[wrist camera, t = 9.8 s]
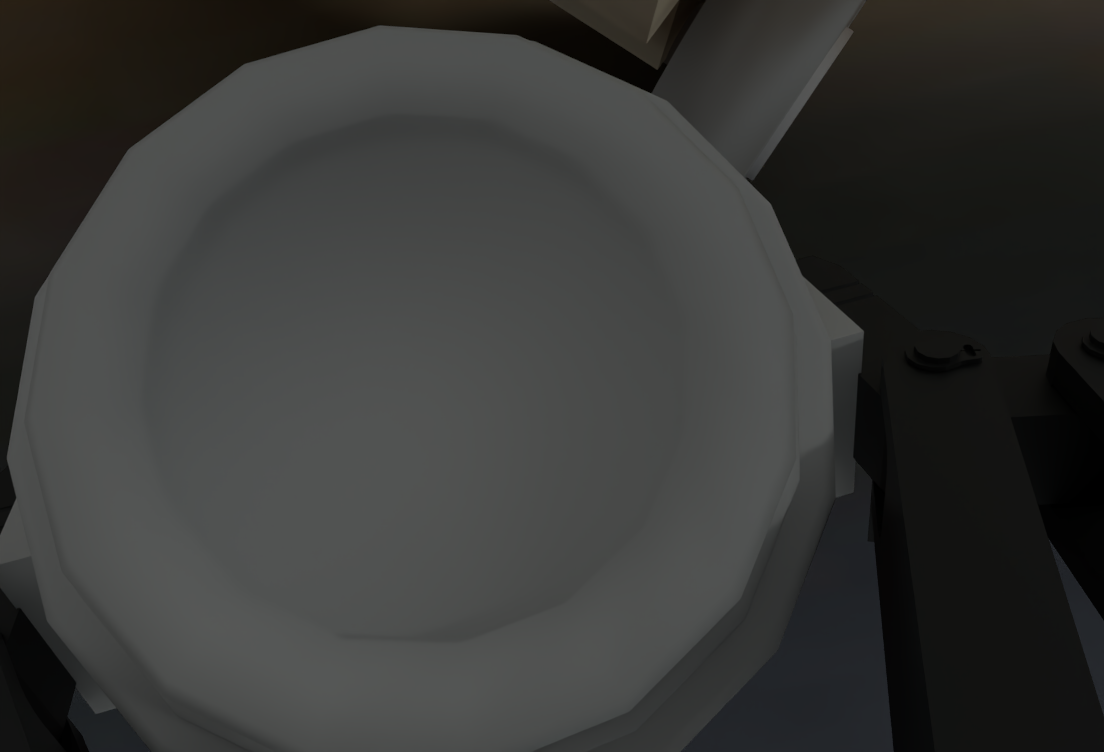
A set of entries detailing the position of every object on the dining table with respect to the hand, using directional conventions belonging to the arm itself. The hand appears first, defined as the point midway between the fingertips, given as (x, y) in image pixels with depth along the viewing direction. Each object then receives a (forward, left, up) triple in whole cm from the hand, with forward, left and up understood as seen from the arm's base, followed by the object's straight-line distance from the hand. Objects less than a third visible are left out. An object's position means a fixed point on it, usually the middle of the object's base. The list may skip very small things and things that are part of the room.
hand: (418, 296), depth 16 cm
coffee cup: (+2, +2, -4) cm, 5 cm away
